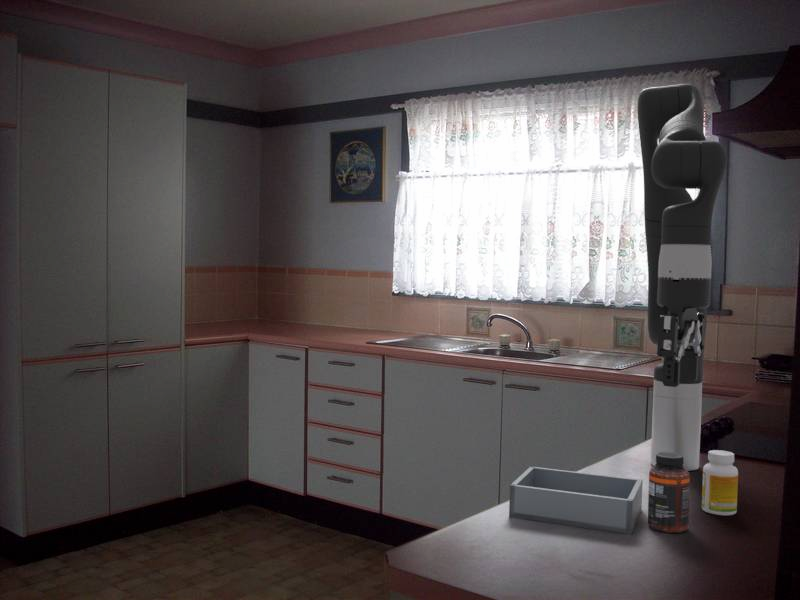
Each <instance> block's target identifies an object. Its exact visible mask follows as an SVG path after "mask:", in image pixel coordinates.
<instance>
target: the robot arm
mask: <svg viewBox="0 0 800 600" xmlns="http://www.w3.org/2000/svg"><path fill="white" fill-rule="evenodd" d="M703 105H704V104H703V99H702V95H701V91H700V89H699V88H698V87H697V86H696V85H695V84H692V83H677V84H671V85H670V84H669V85H662V86H661V85H660V86H654V87H646V88H644V89H642V90H641V91H640V92H639V94H638V98H637V122H638V132H639V141H640V152H641V157H642V158H641V160H642V161H641V162H642V170H643V171H642V172H643V191H644V192H643V193H644V195H643V199H644V200H643V201H644V205H643V206H644V211H643V213H644V232H645V233H644V234H645V244H646V256H647V257H646V258H647V270H648V271H647V272H648V273H647V275H648V276H647V278H648V281H647V282H648V283H647V284H648V290H647V292H648V293H647V331H648V337H649V339H650V341H651V342H652V344H654V345H657V349H656V354H657V357H661V358H660V359H661V360H662V361H663V362H661V363H659V364H656V365H655V366H654V368H653V369H654V370H653V391H652V394H653V395H652V397H653V398H652V419H651V420H652V422H651V441H650V442H651V444H650V465H652V467H654V466H655V465H656V454H657V453H659V452H673V453H678V454H681V455H683V462H684V464H683V467H684V469H686V470H687V471H688V472H689V471H691V472H692V471H696V470H698V469H699V467H700V451H701V450H700V449H701V430H702V429H701V424H702V400H703V397H702V395H703V372H704V355H705V354H704V353H705V342H706V331H707V321H708V320H707V317H708V316H707V308H709V307H710V306H711V293H712V292H711V290H712V289H711V288H712V268H713V267H712V266H713V264H712V263H713V262H712V260H713V259H712V251H711V250H712V249H711V242H712V222H713V214H714V207H715V203H716V201H717V196H718V192H719V190H720V187H721V184H722V181H723V179H724V176H725V173H726V169H727V165H728V156H727V155H728V154H727V152H726V150H725V147H724V146H723V144H721V143H720V142H718V141H715V140H707V139H706V136H705V134H704V130H703V129H704V108H703V107H704V106H703ZM688 189H689V190H690V189H691V190H693V189H695V190H697V189H698V190H699V191H698V195H697V196H696V197H695V198H694V199H693V197H692V195H691V194H690V193H689V191H688Z"/></svg>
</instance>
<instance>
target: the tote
mask: <svg viewBox="0 0 800 600" xmlns="http://www.w3.org/2000/svg"><path fill="white" fill-rule="evenodd" d="M643 481H644V480H643V479H639V478H631V477H623V476H617V475H615V476H614V475H607V474H599V473H598V474H597V473H590V472H581V471H573V470H572V471H571V470H564V469H563V470H562V469H555V468H547V467H539V466H529V467H528V468H527V469H526V470H525V471H524V472H523V473H522V474H520V475H519V476H518V478H516V479H515V480H514V481H513V482H512V483H511V484H510V485H509V504H508V505H509V511H508V517H509V518H515V519H522V520H528V521H529V520H530V521H535V522H541V523H542V522H543V523H549V524H550V523H551V524H556V525H563V526H564V525H565V526H570V527H576V528H577V527H579V528H584V529H590V530H591V529H592V530H597V531H598V530H599V531H604V532H611V533H619V534H626V535H632V534H633V531H634V528H635V526H636V524H637V521H638V519H639V517H640V515H641V512H642V509H643V508H642V507H643V506H642V503H643Z"/></svg>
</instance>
